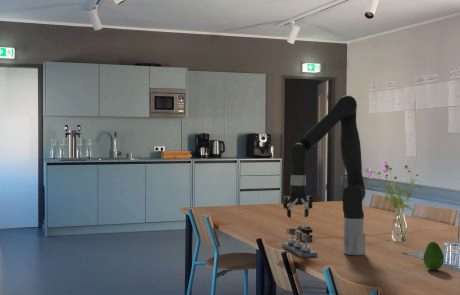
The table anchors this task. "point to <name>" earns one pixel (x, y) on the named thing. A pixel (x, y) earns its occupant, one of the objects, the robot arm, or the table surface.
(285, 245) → the level plate
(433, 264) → the avocado
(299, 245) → the knob mid
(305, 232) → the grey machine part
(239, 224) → the table surface
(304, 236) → the knob near
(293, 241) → the knob far
